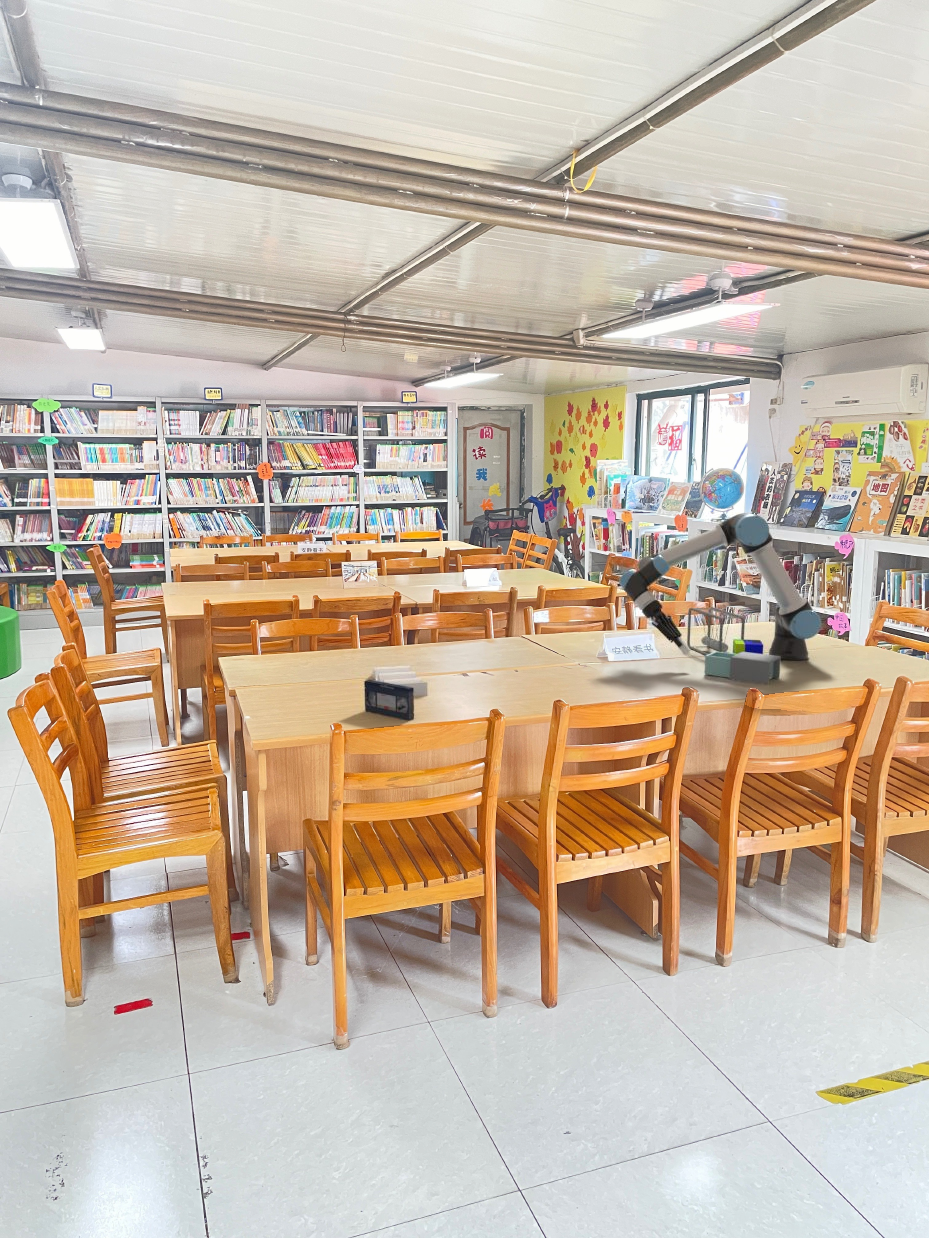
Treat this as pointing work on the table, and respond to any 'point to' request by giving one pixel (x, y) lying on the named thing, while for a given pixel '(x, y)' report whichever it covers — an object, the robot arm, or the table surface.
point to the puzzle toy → (747, 646)
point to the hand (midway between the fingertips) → (687, 652)
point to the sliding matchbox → (723, 664)
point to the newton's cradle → (708, 640)
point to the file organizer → (401, 678)
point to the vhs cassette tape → (389, 699)
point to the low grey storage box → (754, 667)
